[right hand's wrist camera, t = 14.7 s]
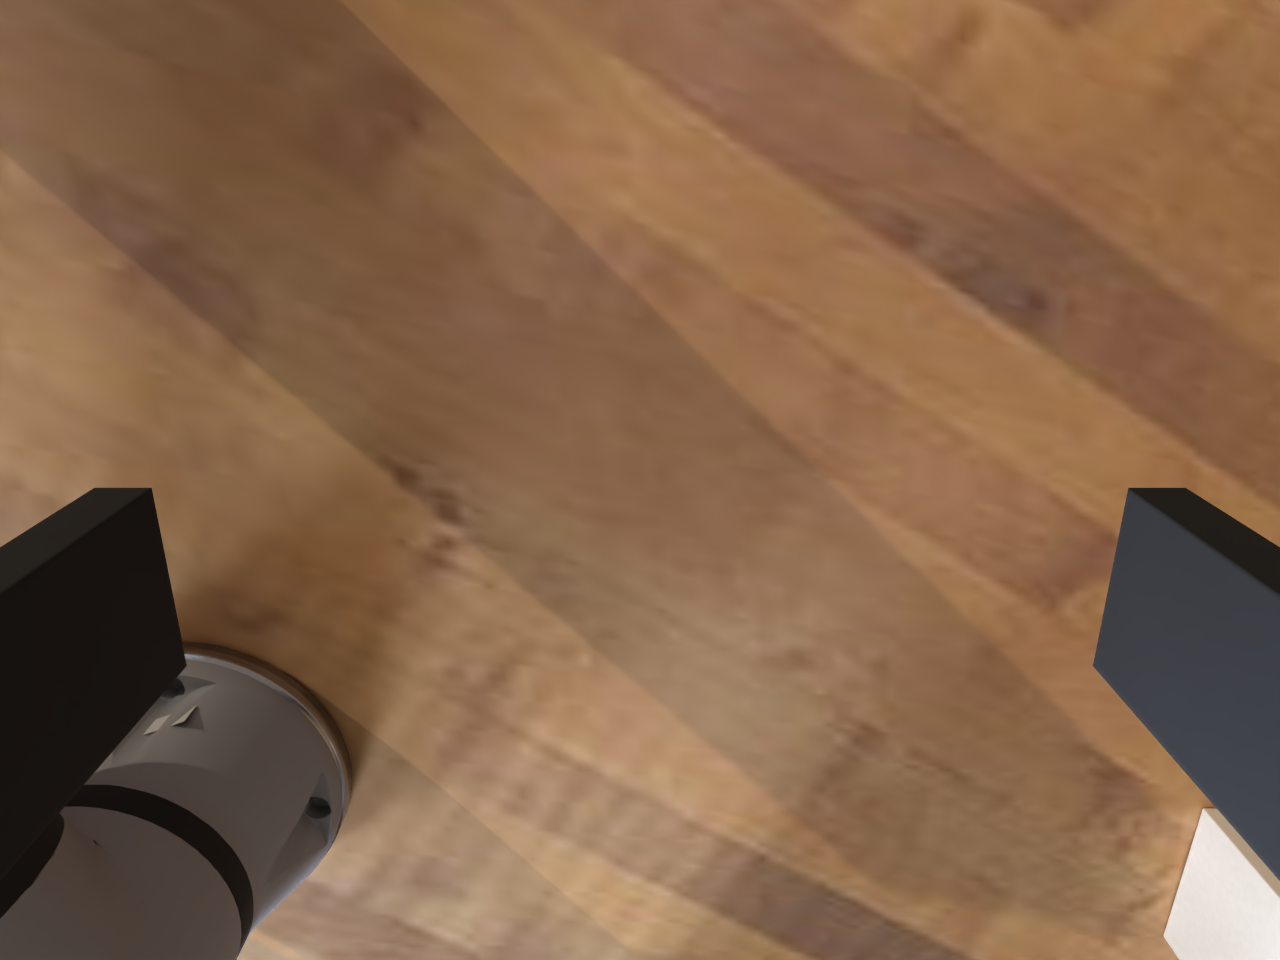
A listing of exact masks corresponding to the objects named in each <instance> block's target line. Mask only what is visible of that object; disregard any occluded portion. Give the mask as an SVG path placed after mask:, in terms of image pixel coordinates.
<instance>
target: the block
mask: <svg viewBox="0 0 1280 960" xmlns="http://www.w3.org/2000/svg"><path fill="white" fill-rule="evenodd" d="M1164 937H1165V939H1166V940H1167V942H1168V943H1169V945H1170V946H1171V948H1172V949H1173V951H1174V952H1175V954H1176V955H1177V957H1178V958H1179V960H1280V881H1279V880H1278V879H1277V877H1276V876H1275V875H1274V874H1273V873H1272V872H1271V870H1270V869H1269V868H1268V867H1267V866H1266V865H1265V864H1264V862H1263V861H1262V860H1261V859H1260V858H1259V857H1258V855H1257V854H1256V853H1255V852H1254V851H1253V850H1252V849H1251V847H1250V846H1249V845H1248V844H1247V843H1246V842H1245V840H1244V839H1243V838H1242V837H1241V836H1240V835H1239V834H1238V832H1237V831H1236V830H1235V829H1234V828H1233V827H1232V825H1231V824H1230V823H1229V822H1228V821H1227V820H1226V819H1225V817H1224V816H1223V815H1222V814H1221V813H1220V812H1219V810H1218V809H1215V808H1203V810H1202V813H1201V816H1200V820H1199V823H1198V826H1197V829H1196V833H1195V836H1194V839H1193V842H1192V845H1191V849H1190V852H1189V855H1188V858H1187V862H1186V865H1185V868H1184V871H1183V874H1182V878H1181V881H1180V884H1179V887H1178V891H1177V894H1176V897H1175V900H1174V903H1173V907H1172V910H1171V913H1170V916H1169V920H1168V923H1167V926H1166V929H1165V932H1164Z"/></svg>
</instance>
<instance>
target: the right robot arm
mask: <svg viewBox="0 0 1280 960" xmlns="http://www.w3.org/2000/svg"><path fill="white" fill-rule="evenodd" d="M1093 666H1094V668H1095V669H1096V670H1097V671H1098V672H1099V673H1100V674H1101V676H1102V677H1103V678H1104V679H1105V680H1106V681H1107V683H1108V684H1109V685H1110V686H1111V687H1112V688H1113V689H1114V691H1115V692H1116V693H1117V694H1118V695H1119V696H1120V698H1121V699H1122V700H1123V701H1124V702H1125V703H1126V704H1127V706H1128V707H1129V708H1130V709H1131V710H1132V711H1133V712H1134V714H1135V715H1136V716H1137V717H1138V718H1139V719H1140V721H1141V722H1142V723H1143V724H1144V725H1145V726H1146V727H1147V729H1148V730H1149V731H1150V732H1151V733H1152V734H1153V736H1154V737H1155V738H1156V739H1157V740H1158V741H1159V742H1160V744H1161V745H1162V746H1163V747H1164V748H1165V749H1166V751H1167V752H1168V753H1169V754H1170V755H1171V756H1172V757H1173V759H1174V760H1175V761H1176V762H1177V763H1178V764H1179V766H1180V767H1181V768H1182V769H1183V770H1184V771H1185V772H1186V774H1187V775H1188V776H1189V777H1190V778H1191V779H1192V781H1193V782H1194V783H1195V784H1196V785H1197V786H1198V787H1199V789H1200V790H1201V791H1202V792H1203V793H1204V794H1205V796H1206V797H1207V798H1208V799H1209V800H1210V801H1211V802H1212V804H1213V805H1214V806H1215V807H1216V808H1217V809H1218V810H1219V812H1220V813H1221V814H1222V815H1223V816H1224V817H1225V819H1226V820H1227V821H1228V822H1229V823H1230V824H1231V825H1232V827H1233V828H1234V829H1235V830H1236V831H1237V832H1238V834H1239V835H1240V836H1241V837H1242V838H1243V839H1244V840H1245V842H1246V843H1247V844H1248V845H1249V846H1250V847H1251V849H1252V850H1253V851H1254V852H1255V853H1256V854H1257V855H1258V857H1259V858H1260V859H1261V860H1262V861H1263V862H1264V864H1265V865H1266V866H1267V867H1268V868H1269V869H1270V870H1271V872H1272V873H1273V874H1274V875H1275V876H1276V877H1277V879H1278V880H1279V881H1280V547H1278V546H1277V545H1275V544H1274V543H1272V542H1270V541H1269V540H1267V539H1266V538H1264V537H1262V536H1261V535H1259V534H1258V533H1256V532H1255V531H1253V530H1251V529H1250V528H1248V527H1247V526H1245V525H1243V524H1242V523H1240V522H1239V521H1237V520H1236V519H1234V518H1232V517H1231V516H1229V515H1228V514H1226V513H1224V512H1223V511H1221V510H1220V509H1218V508H1217V507H1215V506H1213V505H1212V504H1210V503H1209V502H1207V501H1205V500H1204V499H1202V498H1201V497H1199V496H1197V495H1196V494H1194V493H1193V492H1191V491H1190V490H1188V489H1186V488H1128V493H1127V498H1126V503H1125V508H1124V513H1123V518H1122V523H1121V528H1120V533H1119V538H1118V543H1117V548H1116V553H1115V558H1114V563H1113V568H1112V573H1111V578H1110V584H1109V589H1108V594H1107V599H1106V604H1105V609H1104V614H1103V619H1102V624H1101V629H1100V634H1099V639H1098V644H1097V649H1096V654H1095V659H1094V664H1093ZM351 789H352V776H351V766H350V761H349V757H348V753H347V750H346V747H345V744H344V741H343V739H342V737H341V735H340V733H339V731H338V729H337V727H336V726H335V724H334V722H333V721H332V719H331V718H330V716H329V715H328V714H327V712H326V711H325V709H324V708H323V707H322V706H321V705H320V704H319V702H318V701H317V700H316V699H315V698H314V697H313V696H312V695H311V694H310V693H309V692H308V691H307V690H306V689H305V688H303V687H302V686H301V685H300V684H298V683H297V682H296V681H295V680H293V679H292V678H291V677H289V676H288V675H286V674H285V673H283V672H282V671H280V670H278V669H277V668H275V667H273V666H271V665H269V664H268V663H266V662H263V661H261V660H259V659H257V658H255V657H252V656H250V655H247V654H244V653H241V652H239V651H235V650H232V649H228V648H224V647H220V646H214V645H209V644H200V643H184V642H182V639H181V634H180V629H179V624H178V619H177V614H176V609H175V604H174V599H173V594H172V589H171V584H170V578H169V573H168V568H167V563H166V558H165V553H164V548H163V543H162V538H161V533H160V528H159V523H158V518H157V513H156V508H155V503H154V498H153V493H152V488H94V489H92V490H90V491H89V492H87V493H86V494H84V495H83V496H81V497H79V498H78V499H76V500H75V501H73V502H71V503H70V504H68V505H67V506H65V507H63V508H62V509H60V510H59V511H57V512H56V513H54V514H52V515H51V516H49V517H48V518H46V519H44V520H43V521H41V522H40V523H38V524H37V525H35V526H33V527H32V528H30V529H29V530H27V531H25V532H24V533H22V534H21V535H19V536H18V537H16V538H14V539H13V540H11V541H10V542H8V543H6V544H5V545H3V546H2V547H0V960H236V959H237V957H238V955H239V953H240V951H241V949H242V947H243V945H244V943H245V941H246V939H247V937H248V935H249V933H250V932H251V931H252V930H253V929H254V928H255V927H256V926H257V925H258V924H259V923H260V922H262V921H263V920H264V919H265V918H266V917H267V916H268V915H269V914H270V913H271V912H272V911H273V910H274V909H275V908H276V907H277V906H278V905H279V904H280V903H281V902H282V901H283V900H284V899H285V898H286V897H287V896H288V895H289V894H290V893H291V892H292V891H293V890H294V889H295V888H296V887H297V886H298V885H299V884H300V883H301V882H302V881H303V880H304V879H306V878H307V877H308V876H309V875H310V874H311V873H312V871H313V870H314V869H315V868H316V867H317V866H318V864H319V863H320V861H321V860H322V859H323V857H324V856H325V855H326V853H327V852H328V850H329V849H330V847H331V845H332V844H333V842H334V840H335V838H336V836H337V834H338V831H339V829H340V827H341V824H342V822H343V820H344V817H345V815H346V812H347V809H348V806H349V802H350V796H351Z"/></svg>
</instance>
